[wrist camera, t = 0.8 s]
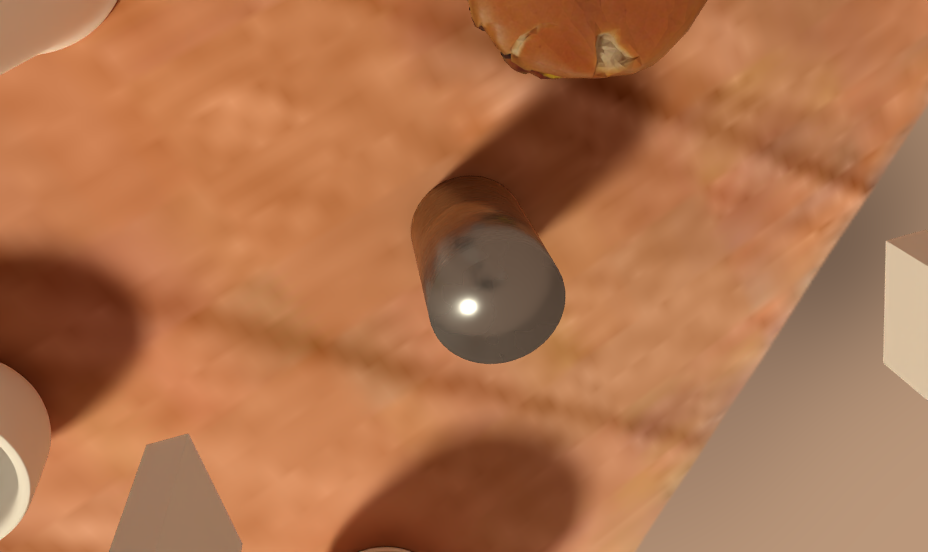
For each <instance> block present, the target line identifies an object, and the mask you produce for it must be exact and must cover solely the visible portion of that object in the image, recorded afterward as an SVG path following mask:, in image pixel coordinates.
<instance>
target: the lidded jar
mask: <svg viewBox="0 0 928 552" xmlns="http://www.w3.org/2000/svg"><path fill="white" fill-rule="evenodd" d="M359 552H412V551H409V550H406V549H402V548H397V547H375V548H369V549H365V550H362V551H359Z"/></svg>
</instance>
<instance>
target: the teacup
mask: <svg viewBox="0 0 928 552" xmlns="http://www.w3.org/2000/svg"><path fill="white" fill-rule="evenodd" d="M50 445H51V426H50V420H49V416H48V413H47V410H46V407H45V405H44V403H43V401H42V399H41V397H40V396H39V394H38V393H37V391H36V390H35V389H34V387H33V386H32V385H31V384H30V383H29V382H28V381H27V380H26V379H25V378H24V377H23V376H22V375H20V374H19V373H18V372H16V371H15V370H13V369H12V368H10V367H9V366H7V365H5V364H3V363H1V362H0V540H1V539H2V538H4V537H5V536H6V535H7V534H9V533H10V532H11V531H12V530H13V529H14V528H15V527H16V526H17V525H18V523H19V522H20V521H21V519H22V518H23V516H24V515H25V513H26V511H27V510H28V508H29V505H30V503H31V501H32V498H33V496H34V493H35V491H36V488H37V485H38V483H39V480H40V477H41V474H42V472H43V469H44V466H45V463H46V460H47V457H48V454H49V450H50Z"/></svg>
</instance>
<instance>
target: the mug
mask: <svg viewBox="0 0 928 552" xmlns="http://www.w3.org/2000/svg"><path fill="white" fill-rule="evenodd" d="M116 2H117V0H0V75H2V74H3V73H5V72H7V71H9V70H11V69H13V68H14V67H16V66H18V65H20V64H22V63H24V62H25V61H27V60H29V59H31V58H33V57H34V56H36V55H39V54H45V53H49V52H53V51H57V50H60V49H63V48H65V47H68V46H70V45H72V44H74V43H76V42H78V41H80V40H81V39H83V38H84V37H86V36H87V35H89V34H90V33H91V32H93V31H94V30H95V29H96V28H97V27H98V26H99V25H100V24H101V23H102V22H103V21H104V20H105V18H106V17H107V16H108V15H109V13H110V12H111V10H112V9H113V7H114V5H115V4H116Z"/></svg>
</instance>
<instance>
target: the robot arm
mask: <svg viewBox="0 0 928 552" xmlns="http://www.w3.org/2000/svg"><path fill="white" fill-rule="evenodd" d="M884 309H885V310H884V351H883V352H884V354H883V363H884V364H885V365H886V366H887V367H888V368H890V369H891V370H892V371H893V372H894V373H896V374H897V375H898V376H899V377H900V378H902V379H903V380H904V381H905V382H906V383H907V384H909V385H910V386H911V387H912V388H914V389H915V390H916V391H917V392H918V393H920V394H921V395H922V396H923V397H924V398H925V399H926V400H928V231H927V230H923V231H919V232H915V233H911V234H908V235H904V236H901V237H897V238H894V239H890V240H887V241H886V262H885V307H884ZM241 550H242V542H241V540H240V538H239V536H238V534H237V532H236V529H235V527H234V525H233V523H232V521H231V519H230V517H229V515H228V513H227V511H226V509H225V507H224V505H223V503H222V501H221V499H220V497H219V495H218V493H217V491H216V489H215V487H214V485H213V483H212V481H211V478H210V476H209V474H208V472H207V470H206V468H205V466H204V464H203V462H202V460H201V458H200V456H199V454H198V452H197V450H196V448H195V446H194V444H193V442H192V440H191V438H190V436H189V434H184V435H181V436H177V437H174V438H170V439H166V440H163V441H159V442H156V443H152V444H148V445H146V448H145V451H144V453H143V456H142V459H141V462H140V465H139V468H138V471H137V473H136V476H135V479H134V482H133V485H132V488H131V491H130V493H129V496H128V499H127V502H126V505H125V508H124V511H123V513H122V516H121V519H120V522H119V525H118V528H117V530H116V533H115V536H114V539H113V542H112V545H111V548H110V550H109V552H241Z"/></svg>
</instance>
